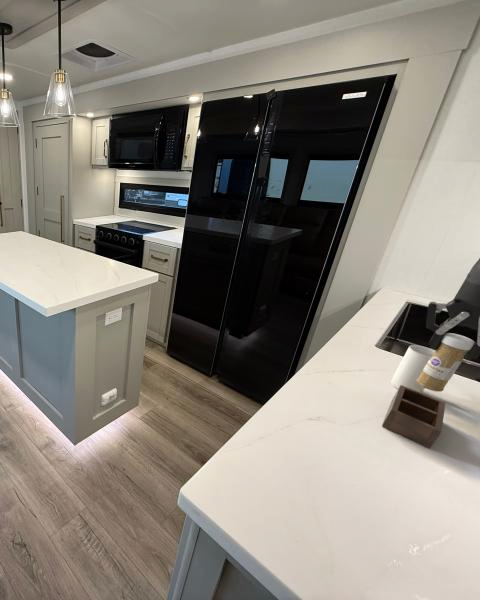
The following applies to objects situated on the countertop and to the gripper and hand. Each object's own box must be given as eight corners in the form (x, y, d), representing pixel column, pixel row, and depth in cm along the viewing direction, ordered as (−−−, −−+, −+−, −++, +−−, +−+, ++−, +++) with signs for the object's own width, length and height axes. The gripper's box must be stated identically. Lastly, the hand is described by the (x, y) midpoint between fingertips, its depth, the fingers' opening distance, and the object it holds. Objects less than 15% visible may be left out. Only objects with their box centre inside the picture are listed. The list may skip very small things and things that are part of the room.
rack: (435, 418, 76) (445, 402, 74) (429, 449, 67) (441, 432, 65) (391, 399, 82) (400, 384, 80) (381, 426, 73) (391, 410, 71)
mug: (400, 393, 84) (421, 356, 80) (383, 378, 91) (402, 343, 86) (443, 400, 83) (468, 363, 78) (423, 384, 89) (445, 349, 84)
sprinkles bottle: (410, 381, 75) (439, 333, 69) (424, 379, 76) (453, 331, 70) (434, 394, 71) (467, 343, 65) (448, 391, 72) (481, 341, 66)
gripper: (551, 289, 60) (499, 362, 67) (444, 270, 70) (408, 335, 77) (557, 298, 55) (500, 375, 62) (441, 275, 65) (404, 344, 72)
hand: (449, 353), depth 69 cm, fingers closed on sprinkles bottle, 4 cm apart
